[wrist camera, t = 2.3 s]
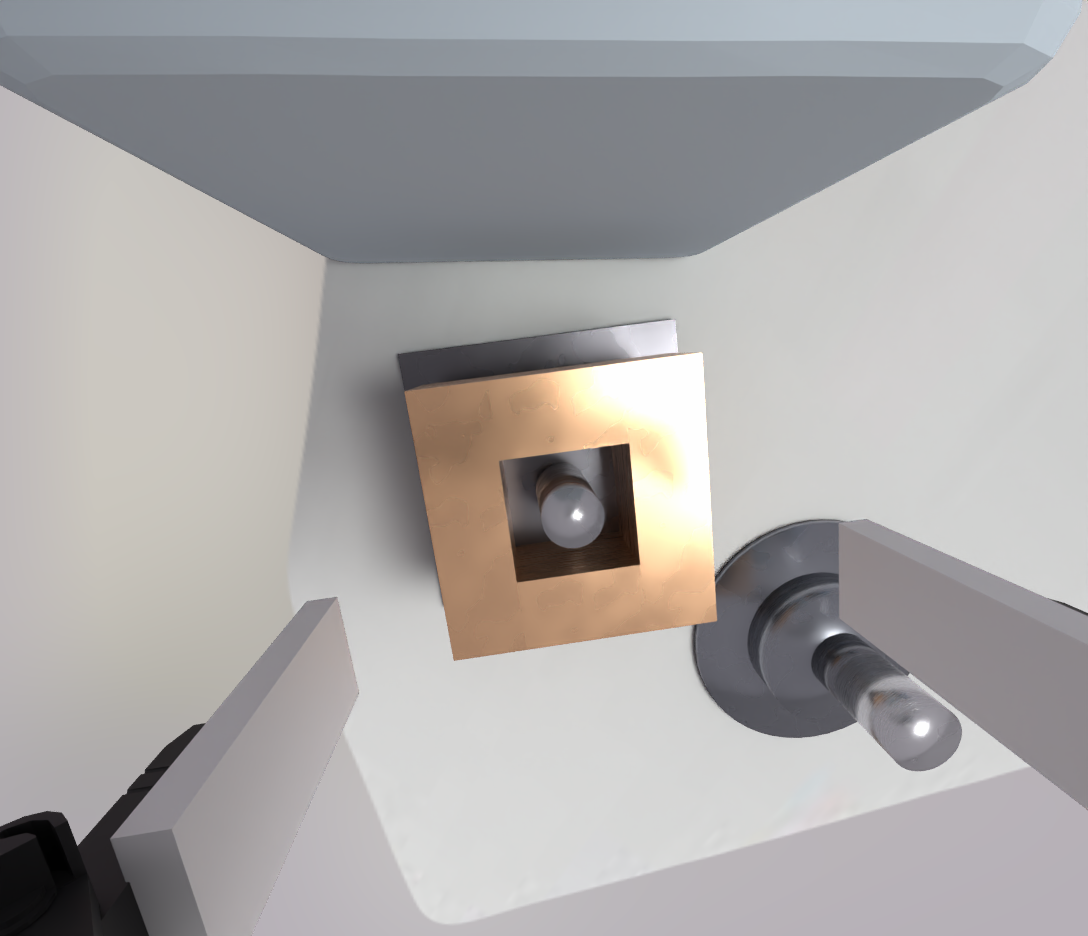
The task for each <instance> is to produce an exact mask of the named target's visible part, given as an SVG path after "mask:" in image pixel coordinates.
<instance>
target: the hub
mask: <svg viewBox="0 0 1088 936" xmlns="http://www.w3.org/2000/svg"><path fill="white" fill-rule="evenodd" d="M839 523H843V521H838V520H813V521H805V522H800V523H795V524H791V525H788V526H785V527H782V528H779V529H776V530H774V531H772V532H770V533H768V534H766V535H764V536H762V537H760V538H758V539H757V540H755V541H754V542H752V543H750V544H749V545H747V546H746V547H745V548H744V549H742V550H741V551H740V552H739V553H737V554H736V555H735V556H734V557H733V558H732V559H731V560H730V561H729V562H728V563H727V564H726V565H725V566H724V568H723V569H722V570H721V571H720V573H719V574H718V575H717V577H716V578H715V593H716V611H717V621H715V622H708V623H702V624H696V628H695V655H696V662H697V665H698V669H699V672H700V675H701V677H702V679H703V681H704V684H705V686H706V687H707V689H708V691H709V692H710V694H711V695H712V697H713V698H714V700H715V701H716V703H717V704H718V705H719V706H720V707H721V708H722V709H723V710H724V711H725V712H726V713H727V714H728V715H729V716H731V717H732V718H733V719H734V720H736V721H738V722H739V723H741V724H743V725H744V726H746V727H748V728H750V729H753V730H755V731H758V732H761V733H764V734H768V735H772V736H779V737H787V738H802V737H812V736H818V735H822V734H827V733H830V732H833V731H836V730H839V729H842V728H845V727H847V726H849V725H851V724H853V723H856V722H857V721H858V722H859V724H860V725H861V726H862V727H863V728H864V729H865V730H866V731H867V732H868V733H869V734H870V735H871V736H872V737H873V738H874V739H875V740H876V741H877V743H878V744H879V745H880V746H881V747H882V748H883V749H884V750H885V751H886V752H887V753H888V754H889V755H890V756H891V757H892V758H893V759H894V760H895V762H896V763H897V764H899V765H900V766H901V767H903V768H905V769H907V770H911V771H926V770H930V769H933V768H935V767H938V766H939V765H941V764H943V763H944V762H946V761H947V760H948V759H949V758H950V757H951V756H952V755H953V754H954V752H955V751H956V749H957V748H958V746H959V743H960V740H961V735H962V729H961V724H960V722H959V720H958V718H957V717H956V716H955V715H954V714H953V713H952V712H951V711H949V710H948V709H947V708H946V707H945V706H943V705H942V704H941V703H940V702H938V701H937V700H936V699H935V698H933V697H932V696H931V695H930V694H928V693H927V692H926V691H925V690H924V689H922V688H921V687H920V686H919V685H917V684H916V683H915V682H914V681H912V680H911V679H910V678H909V677H907V676H908V674H909V673H910V672H908V671H907V670H906V669H904V668H903V667H902V666H900V665H899V664H898V663H897V662H895V661H894V660H893V659H891V658H890V657H889V656H888V655H886V654H885V653H884V652H882V651H881V650H880V649H878V648H877V647H876V646H875V645H873V644H872V643H871V642H869V641H868V640H867V639H866V638H864V637H863V636H862V635H860V634H859V633H858V632H856V631H855V630H854V629H853V628H851V627H850V626H849V625H847V624H846V623H845V622H844V621H842V620H841V619H840V618H839Z"/></svg>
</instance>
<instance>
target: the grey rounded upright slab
mask: <svg viewBox="0 0 1088 936" xmlns="http://www.w3.org/2000/svg"><path fill="white" fill-rule="evenodd" d="M1081 6H1082V0H0V85H1V86H3V87H5V88H7V89H9V90H10V91H12V92H14V93H16V94H18V95H20V96H22V97H24V98H26V99H28V100H29V101H31V102H34V103H35V104H37V105H39V106H41V107H43V108H45V109H47V110H48V111H50V112H52V113H54V114H56V115H58V116H60V117H62V118H64V119H65V120H67V121H69V122H71V123H73V124H75V125H77V126H79V127H81V128H83V129H85V130H87V131H88V132H90V133H92V134H94V135H96V136H98V137H100V138H102V139H103V140H105V141H107V142H109V143H111V144H113V145H115V146H117V147H119V148H121V149H122V150H124V151H126V152H128V153H130V154H132V155H134V156H136V157H138V158H140V159H141V160H143V161H145V162H147V163H149V164H151V165H153V166H155V167H157V168H158V169H160V170H162V171H164V172H166V173H168V174H170V175H172V176H173V177H175V178H177V179H179V180H181V181H183V182H185V183H187V184H188V185H190V186H192V187H194V188H196V189H198V190H200V191H202V192H203V193H205V194H207V195H209V196H211V197H213V198H215V199H217V200H219V201H221V202H223V203H224V204H226V205H228V206H230V207H232V208H234V209H236V210H238V211H239V212H242V213H243V214H245V215H247V216H249V217H251V218H253V219H255V220H256V221H258V222H260V223H262V224H264V225H266V226H268V227H270V228H272V229H274V230H275V231H277V232H279V233H281V234H283V235H285V236H287V237H289V238H291V239H293V240H295V241H296V242H299V243H300V244H302V245H304V246H306V247H308V248H310V249H311V250H313V251H315V252H317V253H319V254H321V255H323V256H325V257H328V258H331V259H333V260H336V261H341V262H353V263H385V262H445V261H495V260H552V259H617V258H667V257H684V256H692V255H696V254H700V253H702V252H704V251H706V250H708V249H710V248H712V247H714V246H716V245H718V244H720V243H722V242H724V241H726V240H727V239H729V238H731V237H733V236H735V235H737V234H739V233H741V232H743V231H745V230H747V229H749V228H751V227H752V226H754V225H756V224H758V223H760V222H762V221H764V220H766V219H768V218H770V217H772V216H774V215H776V214H777V213H779V212H781V211H783V210H785V209H787V208H789V207H791V206H793V205H795V204H797V203H799V202H800V201H802V200H804V199H806V198H808V197H810V196H812V195H814V194H816V193H818V192H820V191H822V190H823V189H825V188H827V187H829V186H831V185H833V184H835V183H837V182H839V181H841V180H843V179H845V178H846V177H848V176H850V175H852V174H854V173H856V172H858V171H860V170H862V169H864V168H865V167H867V166H869V165H871V164H873V163H875V162H877V161H879V160H881V159H883V158H884V157H886V156H888V155H890V154H892V153H894V152H896V151H898V150H900V149H902V148H904V147H905V146H907V145H909V144H911V143H913V142H915V141H917V140H919V139H921V138H923V137H925V136H927V135H929V134H930V133H932V132H934V131H936V130H938V129H940V128H942V127H944V126H946V125H948V124H950V123H952V122H954V121H955V120H957V119H959V118H961V117H963V116H965V115H967V114H969V113H971V112H973V111H975V110H977V109H979V108H980V107H982V106H984V105H986V104H988V103H990V102H992V101H994V100H996V99H998V98H1000V97H1002V96H1004V95H1005V94H1007V93H1009V92H1011V91H1013V90H1015V89H1017V88H1019V87H1021V86H1023V85H1025V84H1027V83H1028V82H1029V81H1030V80H1031V79H1032V78H1033V77H1034V76H1035V75H1036V74H1037V73H1038V72H1039V71H1040V70H1041V69H1042V68H1043V67H1044V66H1045V65H1046V64H1047V63H1048V62H1049V61H1050V60H1051V59H1052V58H1053V57H1054V55H1055V54H1056V52H1057V50H1058V49H1059V47H1060V45H1061V44H1062V42H1063V41H1064V39H1065V37H1066V36H1067V34H1068V32H1069V31H1070V29H1071V27H1072V26H1073V24H1074V22H1075V21H1076V19H1077V17H1078V16H1079V14H1080V12H1081Z"/></svg>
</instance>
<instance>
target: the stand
mask: <svg viewBox="0 0 1088 936" xmlns="http://www.w3.org/2000/svg"><path fill="white" fill-rule="evenodd" d="M665 353H678V349H677V334H676V319H672V320H664V321H656V322H649V323H641V324H633V325H625V326H617V327H609V328H601V329H594V330H586V331H578V332H570V333H562V334H554V335H547V336H539V337H531V338H523V339H515V340H507V341H500V342H492V343H484V344H476V345H468V346H460V347H452V348H445V349H437V350H429V351H421V352H413V353H405V354H398V356H399V361H400V367H401V372H402V378H403V383H404V388H405V391H407V390H410V389H413V388H416V387H418V386H421V385H426V384H434V383H442V382H449V381H457V380H465V379H473V378H480V377H488V376H496V375H503V374H511V373H519V372H526V371H534V370H542V369H550V368H557V367H565V366H573V365H580V364H588V363H596V362H603V361H611V360H619V359H627V358H634V357H642V356H650V355H657V354H665ZM503 464H504V471H505V478H506V485H507V492H508V499H509V505H510V512H511V519H512V526H513V533H514V540H515V546H521V545H528V544H535V543H542V542H549V541H553V542H554V543H555V544H557V545H559V546H562V547H565V548H579V547H583V546H585V545H587V544H589V543H591V542H592V541H593V540H595V539H596V537H597V536H598V535H599V534H605V533H612V532H619V521H618V511H617V501H616V490H615V480H614V470H613V460H612V449H611V446H604V447H597V448H589V449H582V450H575V451H567V452H560V453H553V454H545V455H538V456H531V457H523V458H516V459H508V460H503Z"/></svg>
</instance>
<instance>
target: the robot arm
mask: <svg viewBox="0 0 1088 936" xmlns="http://www.w3.org/2000/svg"><path fill="white" fill-rule="evenodd" d="M839 618H840V619H841V620H842V621H844V622H845V623H846V624H847V625H849V626H850V627H851V628H853V629H854V630H855V631H856V632H858V633H859V634H860V635H862V636H863V637H864V638H866V639H867V640H868V641H869V642H871V643H872V644H873V645H875V646H876V647H877V648H878V649H880V650H881V651H882V652H884V653H885V654H886V655H888V656H889V657H890V658H891V659H893V660H894V661H895V662H897V663H898V664H899V665H900V666H902V667H903V668H904V669H906V670H907V671H908V672H910V673H911V674H912V675H913V676H915V677H916V678H917V679H919V680H920V681H921V682H923V683H924V684H925V685H926V686H928V687H929V688H930V689H932V690H933V691H934V692H935V693H937V694H938V695H939V696H941V697H942V698H943V699H945V700H946V701H947V702H948V703H950V704H951V705H952V706H954V707H955V708H956V709H957V710H959V711H960V712H961V713H963V714H964V715H965V716H967V717H968V718H969V719H970V720H972V721H973V722H974V723H976V724H977V725H978V726H979V727H981V728H982V729H983V730H985V731H986V732H987V733H989V734H990V735H991V736H992V737H994V738H995V739H996V740H998V741H999V742H1000V743H1002V744H1003V745H1004V746H1005V747H1007V748H1008V749H1009V750H1011V751H1012V752H1013V753H1014V754H1016V755H1017V756H1018V757H1020V758H1021V759H1022V760H1024V761H1025V762H1026V763H1027V764H1029V765H1030V766H1031V767H1033V768H1034V769H1035V770H1036V771H1038V772H1039V773H1040V774H1042V775H1043V776H1044V777H1046V778H1047V779H1048V780H1049V781H1051V782H1052V783H1054V784H1055V785H1056V786H1057V787H1058V788H1060V789H1061V790H1062V791H1064V792H1065V793H1066V794H1068V795H1069V796H1070V797H1071V798H1073V799H1074V800H1075V801H1077V802H1078V803H1079V804H1081V805H1082V806H1083V807H1084V808H1086V809H1087V810H1088V613H1086V612H1084V611H1082V610H1079V609H1077V608H1075V607H1072V606H1070V605H1068V604H1065V603H1062V602H1059V601H1055V600H1052V599H1048V598H1045V597H1043V596H1041V595H1039V594H1036V593H1034V592H1032V591H1029V590H1027V589H1025V588H1023V587H1020V586H1018V585H1016V584H1013V583H1011V582H1009V581H1007V580H1004V579H1002V578H1000V577H998V576H995V575H993V574H991V573H988V572H986V571H984V570H982V569H979V568H977V567H975V566H972V565H970V564H968V563H966V562H963V561H961V560H959V559H957V558H954V557H952V556H950V555H947V554H945V553H943V552H941V551H938V550H936V549H934V548H931V547H929V546H927V545H925V544H922V543H920V542H918V541H915V540H913V539H911V538H909V537H906V536H904V535H902V534H900V533H897V532H895V531H893V530H890V529H888V528H886V527H884V526H881V525H879V524H877V523H874V522H872V521H870V520H868V519H863V520H857V521H850V522H843V523H839ZM358 694H359V690H358V686H357V681H356V677H355V672H354V668H353V664H352V659H351V655H350V650H349V646H348V642H347V637H346V633H345V628H344V624H343V620H342V615H341V611H340V606H339V602H338V598H337V597H334V598H327V599H320V600H313V601H307V602H306V603H305V604H304V605H303V607H302V608H301V609H300V610H299V611H298V613H297V614H296V615H295V616H294V617H293V619H292V620H291V621H290V622H289V623H288V625H287V626H286V627H285V628H284V630H283V631H282V632H281V633H280V634H279V636H278V637H277V638H276V639H275V640H274V642H273V643H272V644H271V645H270V646H269V648H268V649H267V650H266V651H265V653H264V654H263V655H262V656H261V658H260V659H259V660H258V661H257V662H256V663H255V665H254V666H253V667H252V668H251V670H250V671H249V672H248V673H247V674H246V675H245V677H244V678H243V679H242V680H241V681H240V683H239V684H238V685H237V686H236V687H235V689H234V690H233V691H232V692H231V694H230V695H229V696H228V697H227V698H226V700H225V701H224V702H223V703H222V704H221V706H220V707H219V708H218V709H217V711H216V712H215V713H214V714H213V715H212V717H211V718H210V719H209V720H208V721H207V723H204V724H198V725H193V726H192V727H191V728H190V729H188V730H187V731H185V732H184V733H183V734H181V735H180V736H179V737H177V738H176V739H175V740H173V741H172V742H171V743H169V744H168V745H167V746H166V747H165V748H164V749H163V750H162V751H161V752H160V753H159V755H158V756H157V757H156V758H155V759H154V760H153V761H152V762H151V764H150V765H149V766H148V767H147V768H146V769H145V774H141V775H140V776H139V777H138V778H137V779H136V781H135V782H134V783H133V784H132V785H131V786H130V787H129V789H128V790H127V794H126V795H122V796H121V797H120V799H119V800H118V801H117V802H116V803H115V804H114V805H113V807H112V808H111V809H110V810H109V811H108V812H107V813H106V815H105V816H104V817H103V818H102V819H101V820H100V821H99V822H98V824H97V825H96V826H95V827H94V828H93V829H92V830H91V832H90V833H89V834H88V835H87V836H86V837H85V838H84V839H83V841H82V842H81V843H80V844H79V845H78V846H77V844H76V842H75V839H74V836H73V834H72V831H71V829H70V826H69V824H68V821H67V819H66V818H65V817H64V815H63V814H62V813H59V812H50V811H46V812H42V813H37V814H33V815H29V816H24V817H22V818H20V819H17V820H15V821H12V822H10V823H8V824H5V825H3V826H1V827H0V936H252V934H253V932H254V930H255V927H256V925H257V923H258V921H259V918H260V916H261V914H262V911H263V909H264V907H265V905H266V903H267V900H268V898H269V896H270V893H271V891H272V889H273V887H274V884H275V882H276V880H277V878H278V875H279V873H280V871H281V869H282V866H283V864H284V862H285V860H286V857H287V855H288V853H289V851H290V848H291V846H292V844H293V841H294V839H295V837H296V835H297V832H298V830H299V828H300V826H301V823H302V821H303V819H304V816H305V814H306V812H307V810H308V808H309V805H310V803H311V800H312V798H313V796H314V794H315V791H316V789H317V787H318V785H319V783H320V780H321V778H322V776H323V773H324V771H325V769H326V767H327V764H328V762H329V760H330V758H331V755H332V753H333V751H334V749H335V746H336V744H337V742H338V739H339V737H340V735H341V733H342V731H343V728H344V726H345V724H346V722H347V719H348V717H349V715H350V713H351V710H352V708H353V706H354V703H355V701H356V699H357V697H358Z"/></svg>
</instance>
